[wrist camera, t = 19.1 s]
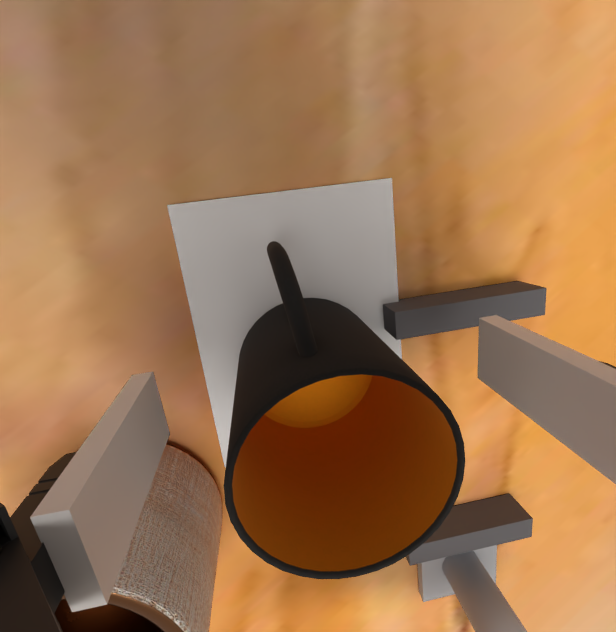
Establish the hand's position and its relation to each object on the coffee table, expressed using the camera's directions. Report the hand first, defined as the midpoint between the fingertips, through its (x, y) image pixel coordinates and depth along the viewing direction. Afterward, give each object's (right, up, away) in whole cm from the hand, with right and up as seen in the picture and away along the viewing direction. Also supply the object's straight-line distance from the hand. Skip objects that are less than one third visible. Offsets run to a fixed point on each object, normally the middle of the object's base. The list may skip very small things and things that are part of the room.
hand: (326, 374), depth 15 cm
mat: (-1, +1, +7) cm, 8 cm away
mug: (-1, +1, +7) cm, 7 cm away
